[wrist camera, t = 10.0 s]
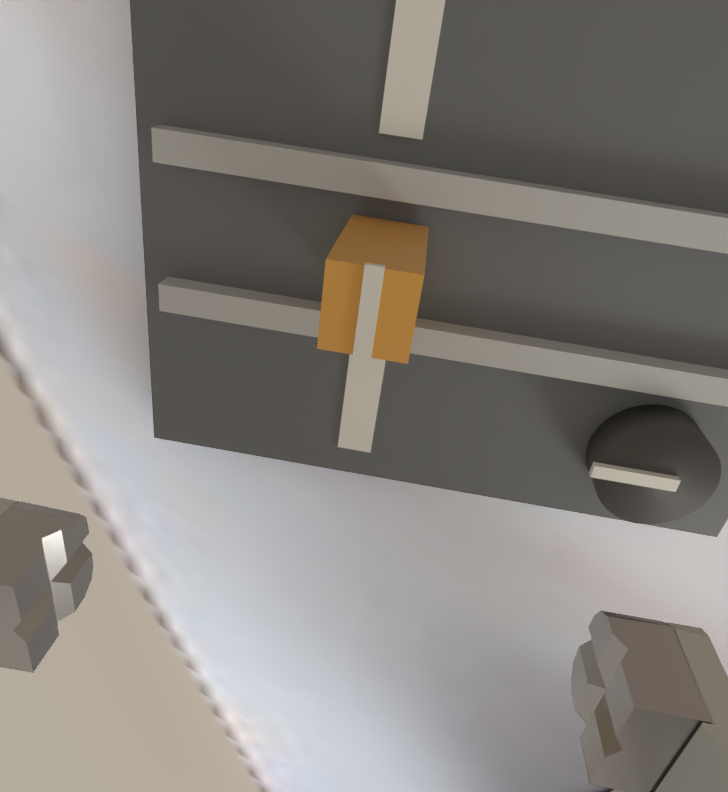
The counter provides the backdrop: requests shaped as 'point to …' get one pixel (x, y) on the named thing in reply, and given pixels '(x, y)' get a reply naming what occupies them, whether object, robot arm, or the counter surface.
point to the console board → (448, 240)
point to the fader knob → (373, 289)
